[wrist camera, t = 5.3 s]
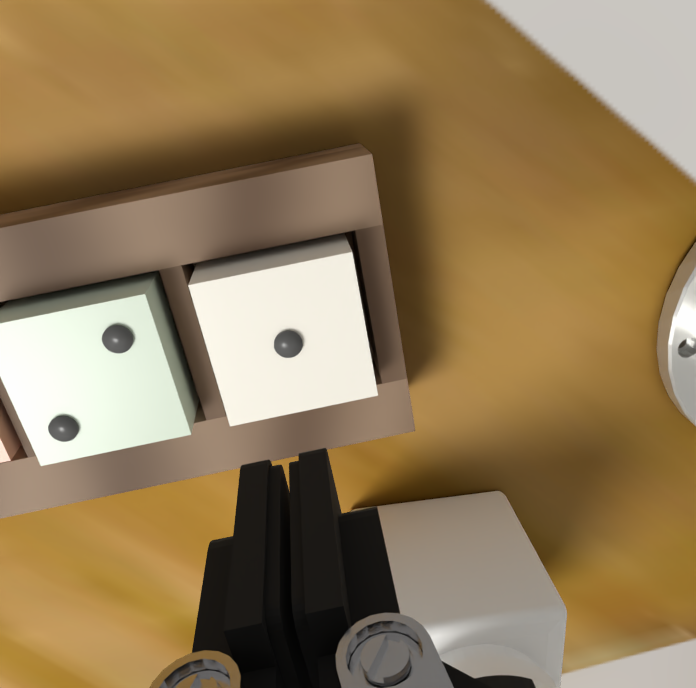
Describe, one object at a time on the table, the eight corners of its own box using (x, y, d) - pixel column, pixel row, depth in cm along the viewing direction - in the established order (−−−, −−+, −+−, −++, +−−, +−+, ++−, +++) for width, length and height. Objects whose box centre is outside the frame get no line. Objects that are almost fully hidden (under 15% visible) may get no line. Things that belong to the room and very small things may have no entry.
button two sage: (158, 270, 21) (144, 295, 19) (199, 399, 23) (190, 436, 21) (8, 300, 21) (-24, 329, 19) (63, 428, 23) (39, 468, 21)
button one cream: (344, 233, 21) (352, 253, 19) (368, 364, 23) (378, 397, 21) (196, 262, 21) (187, 286, 19) (234, 392, 23) (229, 428, 21)
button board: (359, 143, 22) (372, 153, 19) (400, 392, 26) (415, 431, 23) (-219, 258, 22) (-291, 286, 19) (-86, 494, 26) (-128, 545, 23)
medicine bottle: (357, 624, 31) (402, 927, 20) (346, 506, 28) (392, 785, 17) (499, 604, 32) (619, 890, 21) (503, 486, 29) (645, 745, 18)
